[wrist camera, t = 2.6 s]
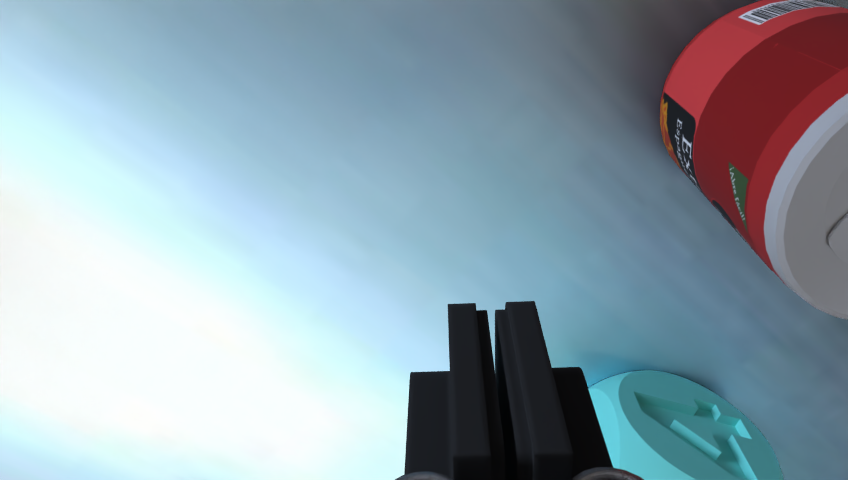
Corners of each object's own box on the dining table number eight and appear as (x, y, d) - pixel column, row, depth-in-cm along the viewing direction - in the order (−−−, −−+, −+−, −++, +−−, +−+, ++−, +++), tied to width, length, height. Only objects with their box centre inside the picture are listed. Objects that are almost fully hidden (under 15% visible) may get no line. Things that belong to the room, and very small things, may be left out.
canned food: (614, 111, 27) (714, 229, 18) (769, -54, 24) (993, -22, 15) (735, 214, 29) (885, 371, 20) (891, 74, 26) (1159, 176, 17)
